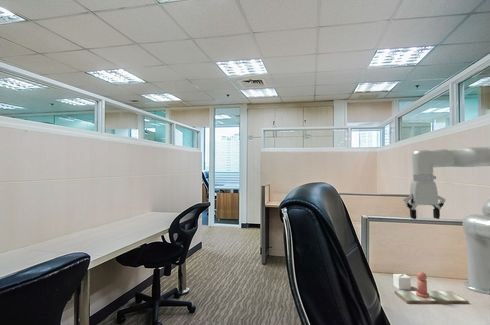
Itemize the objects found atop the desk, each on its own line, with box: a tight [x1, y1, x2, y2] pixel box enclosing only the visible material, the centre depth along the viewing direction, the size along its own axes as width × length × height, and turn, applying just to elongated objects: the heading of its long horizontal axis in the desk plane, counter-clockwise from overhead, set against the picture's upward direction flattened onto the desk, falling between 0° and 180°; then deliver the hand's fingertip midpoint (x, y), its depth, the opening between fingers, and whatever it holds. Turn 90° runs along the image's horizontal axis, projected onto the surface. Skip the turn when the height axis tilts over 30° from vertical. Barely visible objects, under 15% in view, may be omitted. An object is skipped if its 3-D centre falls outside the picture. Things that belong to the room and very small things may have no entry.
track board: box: [394, 290, 469, 305], centre depth 117 cm, size 23×10×1 cm, turn 88°
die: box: [392, 273, 412, 290], centre depth 129 cm, size 5×5×5 cm
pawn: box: [415, 271, 429, 298], centre depth 117 cm, size 4×4×9 cm
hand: (425, 218), depth 126 cm, fingers open, 9 cm apart
